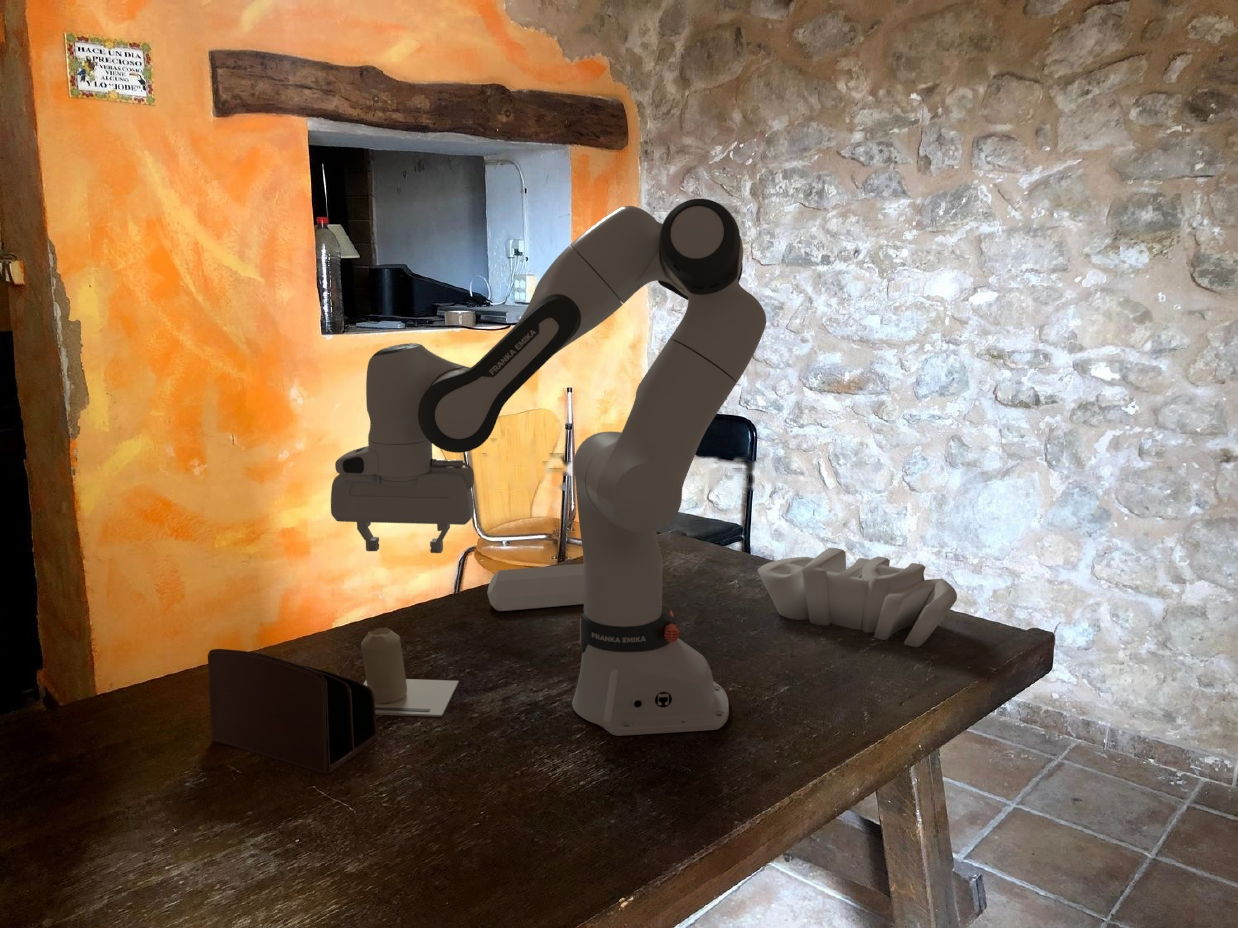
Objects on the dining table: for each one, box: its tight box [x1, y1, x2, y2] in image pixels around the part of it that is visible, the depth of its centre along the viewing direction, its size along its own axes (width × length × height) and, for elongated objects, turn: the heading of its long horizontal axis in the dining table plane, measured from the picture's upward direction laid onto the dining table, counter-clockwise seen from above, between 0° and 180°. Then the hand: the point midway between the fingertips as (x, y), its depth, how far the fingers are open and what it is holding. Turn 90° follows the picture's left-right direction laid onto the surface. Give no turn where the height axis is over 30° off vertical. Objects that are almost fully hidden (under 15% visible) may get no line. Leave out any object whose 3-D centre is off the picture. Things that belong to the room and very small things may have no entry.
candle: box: [360, 627, 407, 703], centre depth 142 cm, size 6×6×10 cm
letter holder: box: [207, 648, 378, 776], centre depth 130 cm, size 10×20×14 cm, turn 65°
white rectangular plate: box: [363, 678, 460, 718], centre depth 144 cm, size 14×11×1 cm
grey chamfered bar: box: [486, 563, 584, 612], centre depth 183 cm, size 7×7×24 cm
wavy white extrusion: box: [757, 547, 958, 648], centre depth 173 cm, size 35×16×11 cm, turn 53°
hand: (404, 551), depth 143 cm, fingers open, 8 cm apart
